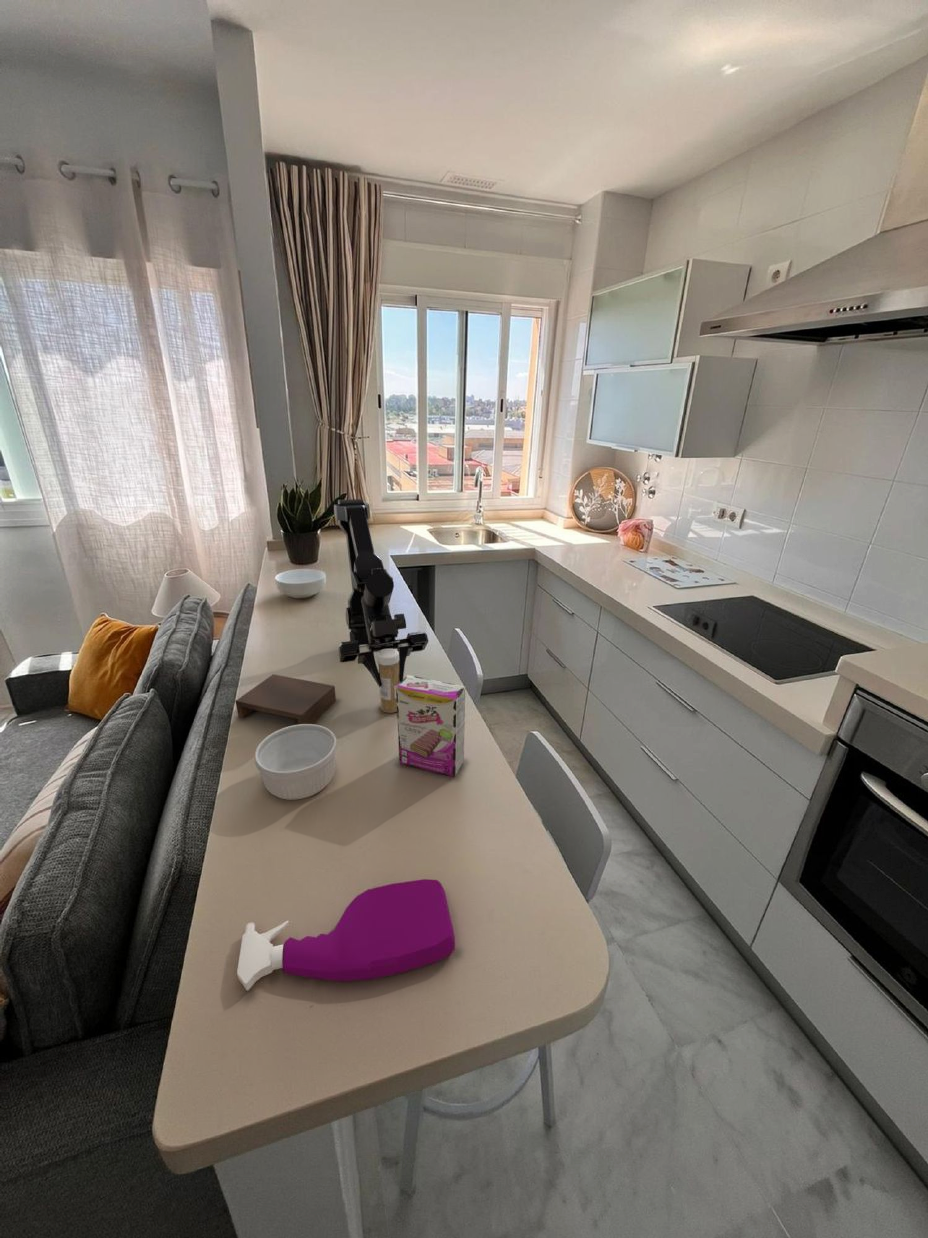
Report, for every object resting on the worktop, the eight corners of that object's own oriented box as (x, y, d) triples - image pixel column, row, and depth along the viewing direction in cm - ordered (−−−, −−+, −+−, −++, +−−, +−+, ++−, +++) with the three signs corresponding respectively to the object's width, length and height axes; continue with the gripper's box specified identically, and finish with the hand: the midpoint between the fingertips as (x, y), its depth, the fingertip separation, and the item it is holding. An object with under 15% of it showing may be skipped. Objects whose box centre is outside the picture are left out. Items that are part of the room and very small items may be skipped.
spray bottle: (458, 965, 57) (232, 1020, 52) (441, 884, 67) (249, 923, 62) (458, 948, 56) (227, 1002, 51) (440, 868, 66) (245, 907, 61)
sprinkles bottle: (405, 709, 107) (402, 653, 101) (385, 716, 104) (382, 659, 99) (395, 700, 110) (393, 645, 105) (376, 706, 108) (373, 650, 103)
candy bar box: (398, 765, 90) (393, 687, 83) (409, 749, 94) (406, 673, 88) (455, 779, 86) (456, 699, 80) (465, 762, 91) (466, 684, 84)
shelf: (275, 689, 114) (273, 674, 112) (336, 701, 109) (334, 685, 108) (238, 717, 103) (235, 700, 102) (303, 732, 99) (301, 715, 97)
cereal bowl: (319, 603, 165) (317, 583, 162) (269, 602, 165) (266, 582, 162) (332, 587, 181) (330, 568, 178) (287, 586, 181) (284, 567, 178)
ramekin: (296, 818, 78) (291, 783, 75) (243, 787, 84) (236, 753, 82) (355, 771, 88) (352, 738, 86) (304, 746, 95) (300, 715, 92)
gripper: (335, 606, 99) (347, 681, 93) (425, 596, 105) (441, 665, 99) (334, 627, 108) (345, 696, 103) (416, 617, 114) (430, 681, 109)
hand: (391, 684), depth 103 cm, fingers closed on sprinkles bottle, 4 cm apart
